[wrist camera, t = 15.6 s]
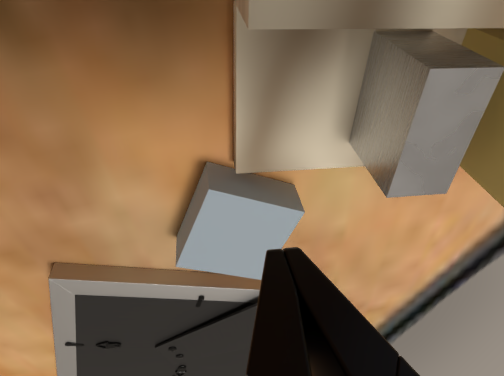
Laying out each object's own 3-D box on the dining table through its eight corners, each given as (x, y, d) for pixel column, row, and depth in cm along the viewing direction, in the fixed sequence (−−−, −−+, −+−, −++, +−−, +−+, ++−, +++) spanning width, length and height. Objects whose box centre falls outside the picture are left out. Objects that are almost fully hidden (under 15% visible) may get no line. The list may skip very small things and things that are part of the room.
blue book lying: (293, 182, 24) (304, 212, 21) (254, 247, 27) (261, 279, 25) (206, 158, 22) (208, 189, 19) (177, 232, 25) (175, 266, 23)
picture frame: (322, 273, 31) (57, 254, 25) (332, 301, 29) (44, 287, 23) (268, 364, 40) (64, 366, 34) (273, 391, 38) (55, 397, 32)
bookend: (433, 30, 17) (505, 67, 13) (397, 139, 21) (446, 193, 17) (373, 31, 17) (430, 68, 13) (348, 142, 20) (386, 197, 17)
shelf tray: (627, -25, 18) (749, -6, 14) (528, 146, 24) (593, 192, 20) (233, -31, 15) (249, -10, 12) (233, 162, 22) (244, 218, 18)
